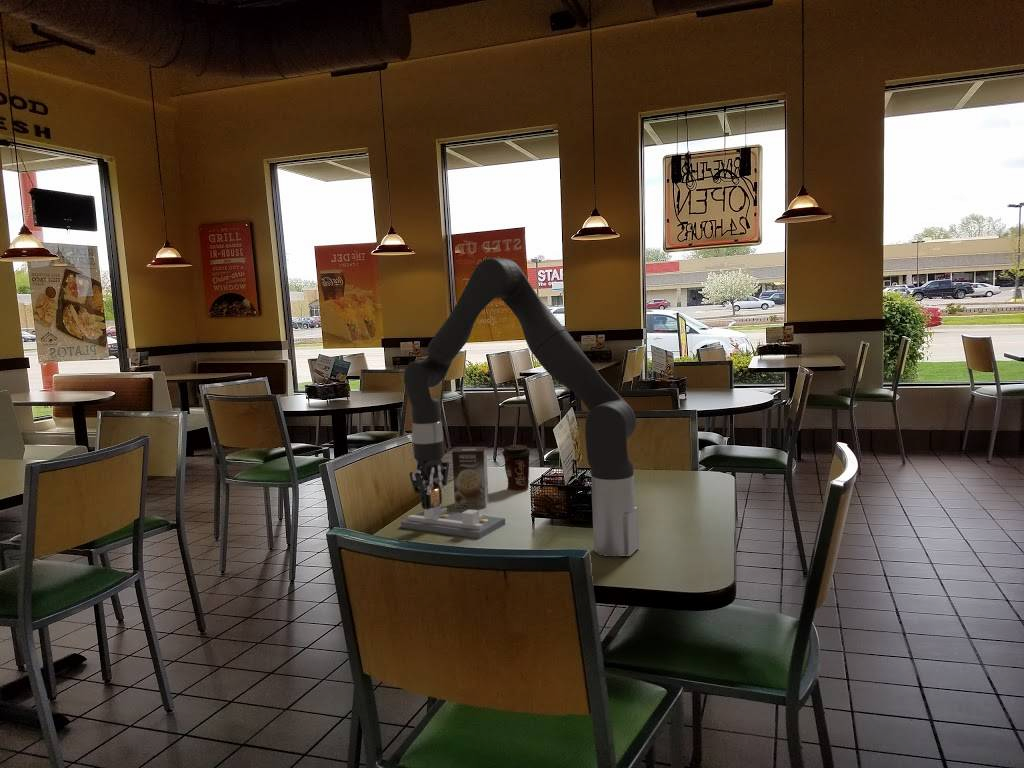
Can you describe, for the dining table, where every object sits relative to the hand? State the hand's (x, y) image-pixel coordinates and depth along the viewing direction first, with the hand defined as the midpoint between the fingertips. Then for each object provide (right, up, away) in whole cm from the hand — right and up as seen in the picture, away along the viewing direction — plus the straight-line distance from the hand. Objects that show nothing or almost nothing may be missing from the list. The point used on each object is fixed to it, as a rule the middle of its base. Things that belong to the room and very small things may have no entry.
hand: (432, 506), depth 183 cm
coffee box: (+9, -3, +20) cm, 22 cm away
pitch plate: (+5, -5, +2) cm, 8 cm away
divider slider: (+1, -3, +2) cm, 4 cm away
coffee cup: (+22, -1, +35) cm, 41 cm away
